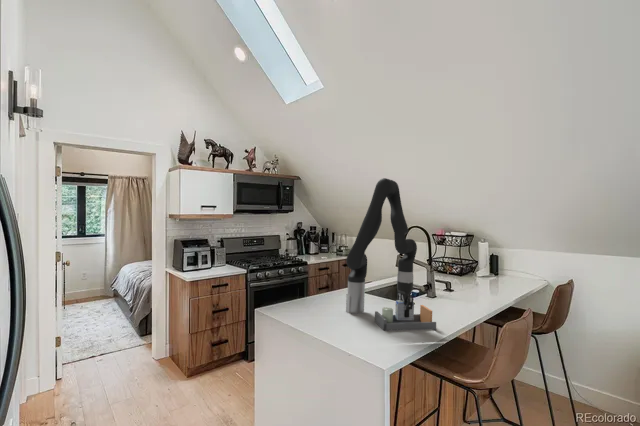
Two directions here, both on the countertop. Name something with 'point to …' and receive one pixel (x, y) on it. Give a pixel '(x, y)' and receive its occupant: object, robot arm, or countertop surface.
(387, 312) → the sage jar
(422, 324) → the pusher lane
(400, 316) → the medicine box
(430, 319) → the pusher paddle
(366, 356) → the countertop surface
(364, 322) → the countertop surface
